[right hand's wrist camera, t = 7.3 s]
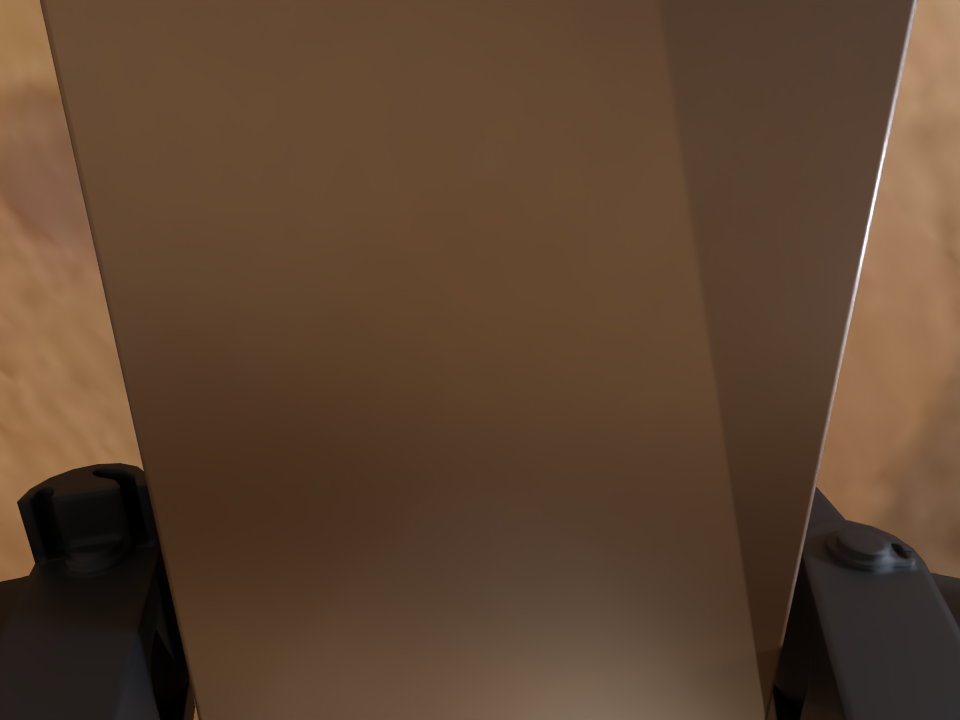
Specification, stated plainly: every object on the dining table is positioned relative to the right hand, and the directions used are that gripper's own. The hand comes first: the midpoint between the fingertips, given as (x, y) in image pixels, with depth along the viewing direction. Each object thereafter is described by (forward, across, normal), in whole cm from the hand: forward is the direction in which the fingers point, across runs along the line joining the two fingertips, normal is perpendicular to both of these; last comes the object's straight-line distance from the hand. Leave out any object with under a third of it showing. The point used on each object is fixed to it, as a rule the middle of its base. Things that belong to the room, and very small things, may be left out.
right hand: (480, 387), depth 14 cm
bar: (+1, 0, -21) cm, 21 cm away
